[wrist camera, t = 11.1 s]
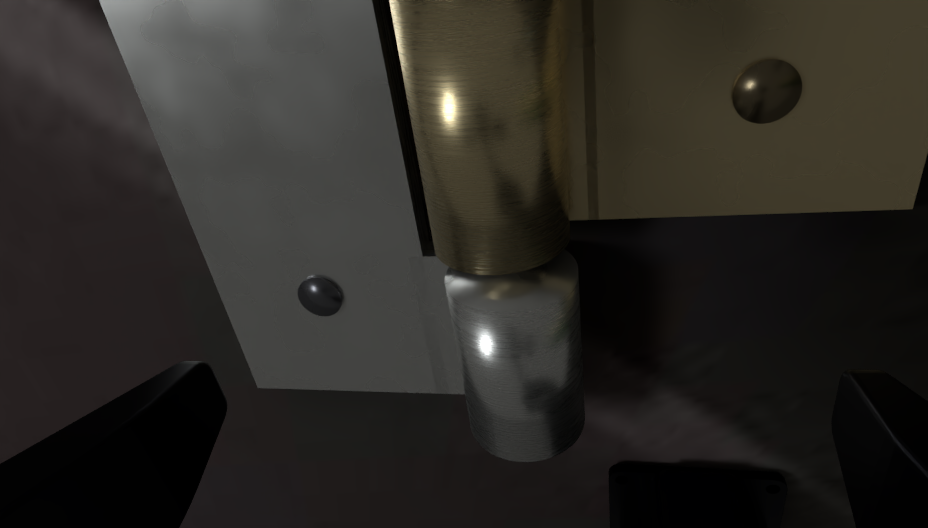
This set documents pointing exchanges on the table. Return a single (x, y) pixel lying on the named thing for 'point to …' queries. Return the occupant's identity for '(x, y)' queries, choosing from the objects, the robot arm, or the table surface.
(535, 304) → the steel hinge leaf
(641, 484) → the robot arm
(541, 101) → the brass hinge leaf
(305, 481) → the table surface
